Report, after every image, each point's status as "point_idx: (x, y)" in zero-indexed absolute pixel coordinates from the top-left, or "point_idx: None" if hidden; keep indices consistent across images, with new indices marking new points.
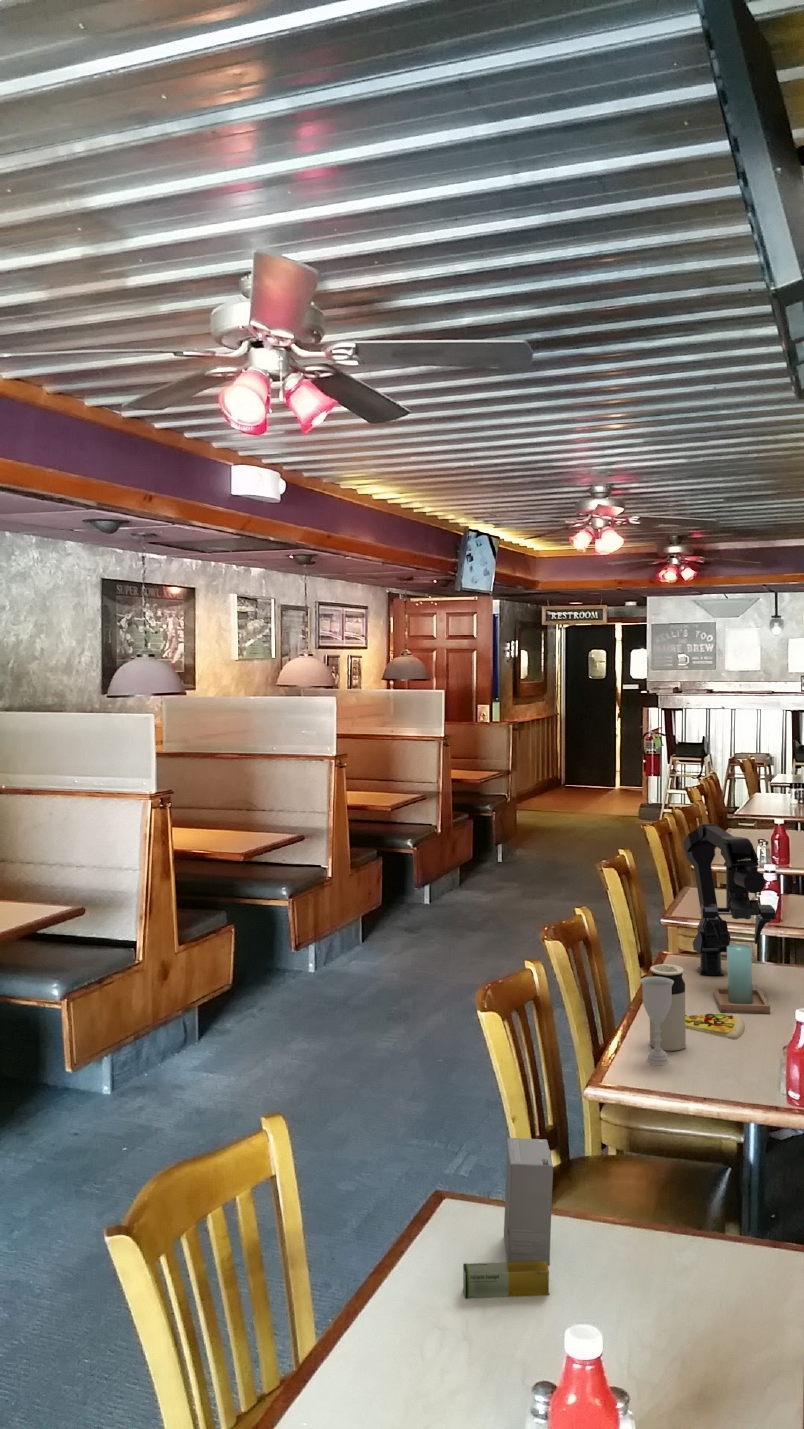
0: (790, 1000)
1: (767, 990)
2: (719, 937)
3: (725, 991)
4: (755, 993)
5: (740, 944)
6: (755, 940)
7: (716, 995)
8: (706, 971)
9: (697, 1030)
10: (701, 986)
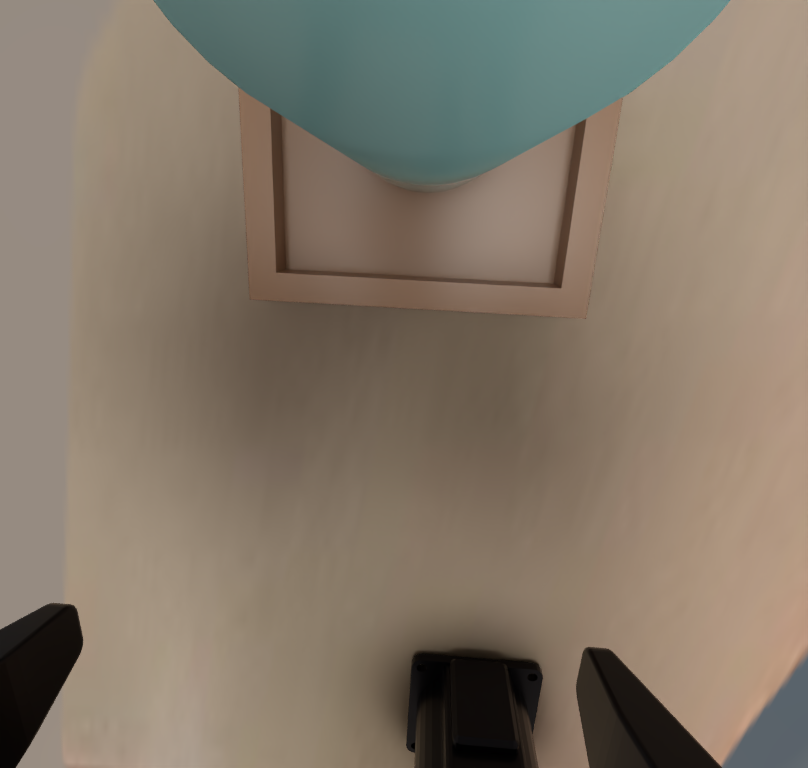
0: (84, 218)
1: (210, 418)
2: (655, 729)
3: (500, 282)
4: (293, 270)
5: (337, 103)
6: (27, 639)
7: (620, 109)
8: (511, 680)
9: None
10: (592, 485)
